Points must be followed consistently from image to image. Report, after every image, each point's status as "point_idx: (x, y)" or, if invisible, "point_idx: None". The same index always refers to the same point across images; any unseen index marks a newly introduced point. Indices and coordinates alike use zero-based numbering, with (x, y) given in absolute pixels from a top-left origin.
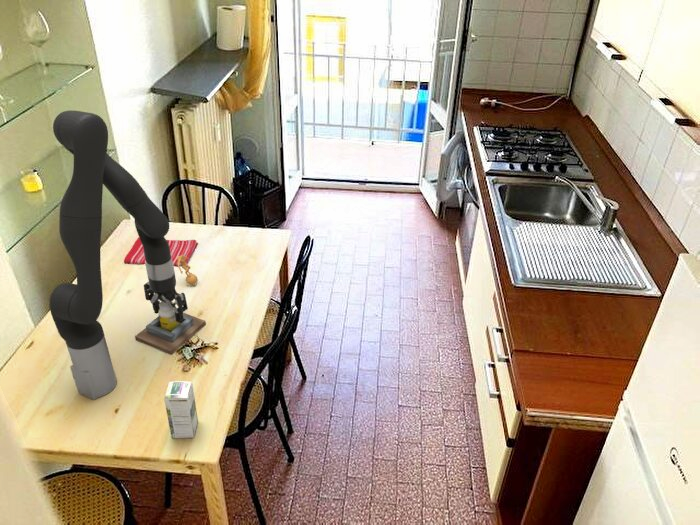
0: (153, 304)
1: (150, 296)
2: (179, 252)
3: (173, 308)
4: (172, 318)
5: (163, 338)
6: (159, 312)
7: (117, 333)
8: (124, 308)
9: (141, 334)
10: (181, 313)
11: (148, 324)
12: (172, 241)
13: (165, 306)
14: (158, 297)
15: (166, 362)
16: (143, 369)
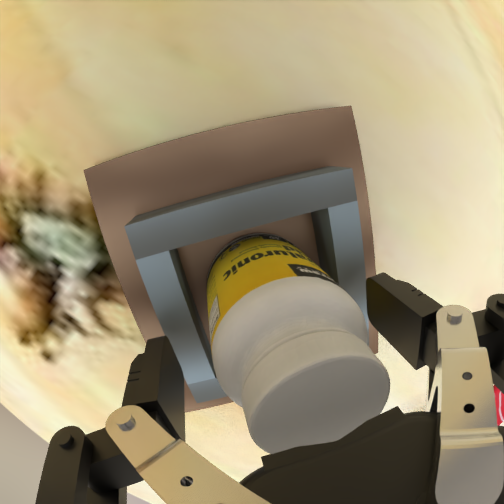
0: (430, 312)
1: (496, 342)
2: None
3: (156, 441)
4: (210, 335)
5: (202, 196)
6: (324, 298)
7: (426, 99)
8: (494, 220)
9: (338, 136)
10: (64, 427)
11: (353, 192)
12: (498, 423)
13: (288, 397)
14: (428, 434)
15: (68, 121)
16: (116, 19)
